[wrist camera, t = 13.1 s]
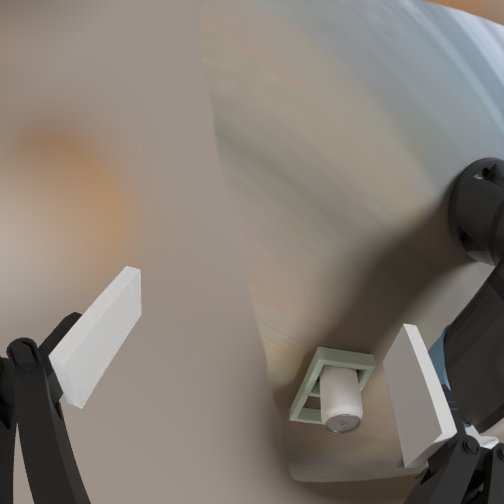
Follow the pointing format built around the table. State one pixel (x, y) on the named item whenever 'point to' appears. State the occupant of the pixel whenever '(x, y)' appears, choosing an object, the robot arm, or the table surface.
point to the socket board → (312, 387)
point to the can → (340, 399)
